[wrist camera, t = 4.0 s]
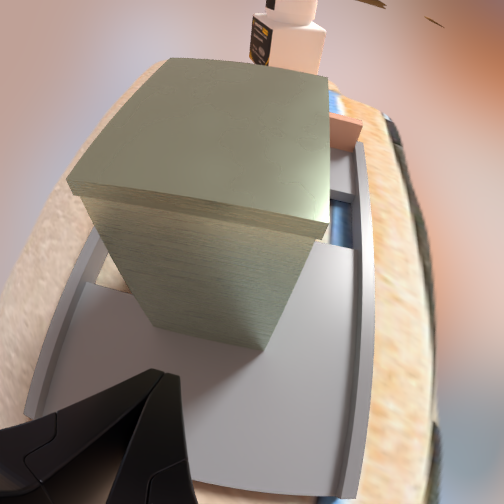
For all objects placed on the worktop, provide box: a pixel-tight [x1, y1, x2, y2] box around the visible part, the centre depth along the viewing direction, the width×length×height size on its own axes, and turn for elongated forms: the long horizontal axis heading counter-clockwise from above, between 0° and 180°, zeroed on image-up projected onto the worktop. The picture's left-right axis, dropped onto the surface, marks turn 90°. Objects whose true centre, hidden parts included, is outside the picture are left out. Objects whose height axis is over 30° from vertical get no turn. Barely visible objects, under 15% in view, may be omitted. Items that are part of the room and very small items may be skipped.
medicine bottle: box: [249, 0, 326, 75], centre depth 31 cm, size 7×7×12 cm
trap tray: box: [23, 112, 375, 499], centre depth 18 cm, size 26×18×4 cm
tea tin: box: [66, 58, 330, 351], centre depth 13 cm, size 7×6×11 cm
